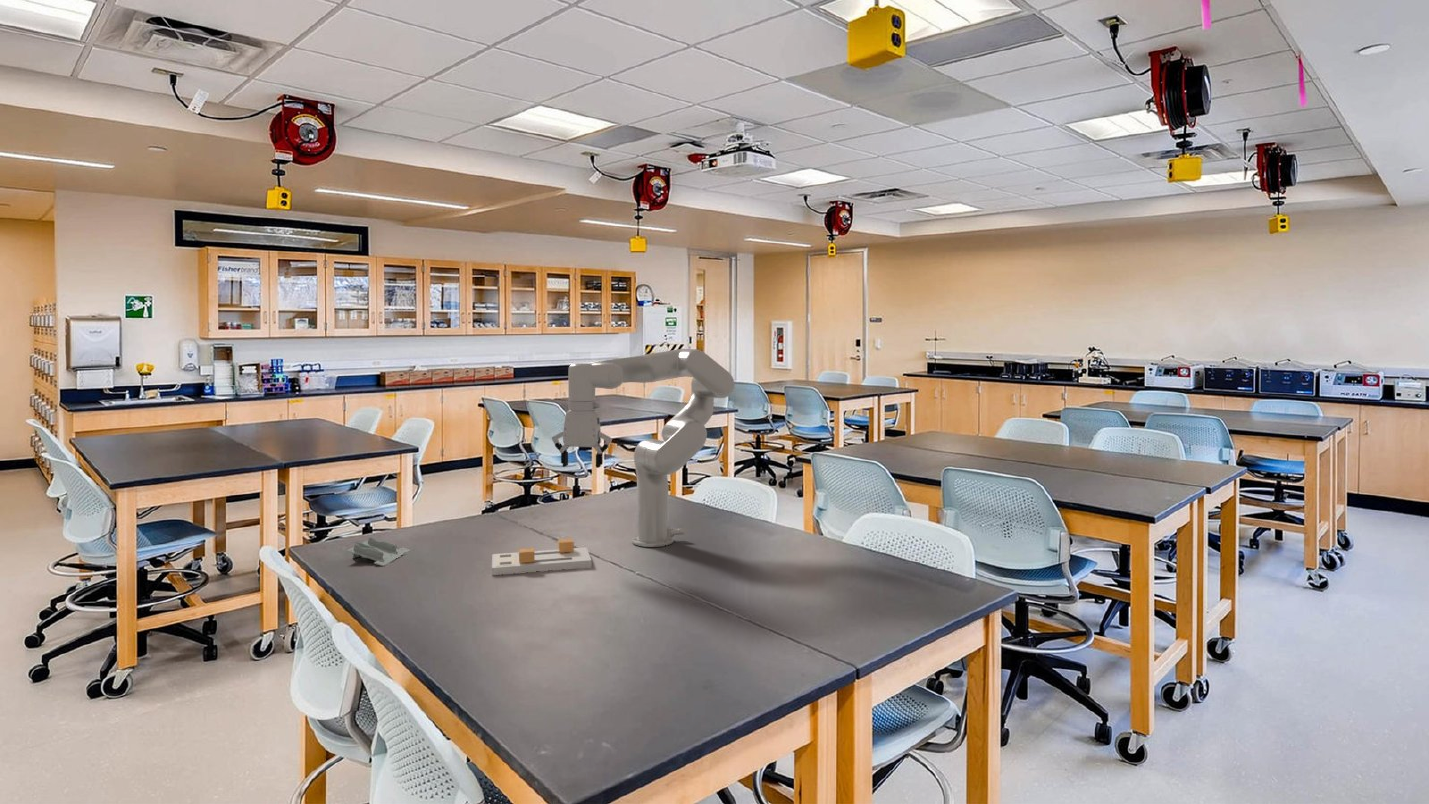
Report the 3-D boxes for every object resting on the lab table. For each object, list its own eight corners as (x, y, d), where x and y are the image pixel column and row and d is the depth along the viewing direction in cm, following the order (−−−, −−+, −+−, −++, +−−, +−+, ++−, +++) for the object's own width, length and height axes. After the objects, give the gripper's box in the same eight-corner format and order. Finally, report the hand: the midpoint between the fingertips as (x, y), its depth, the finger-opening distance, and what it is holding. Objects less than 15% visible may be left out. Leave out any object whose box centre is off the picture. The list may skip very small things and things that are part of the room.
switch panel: (586, 554, 220) (586, 546, 220) (591, 567, 207) (591, 559, 207) (492, 561, 213) (492, 553, 213) (492, 575, 201) (491, 567, 200)
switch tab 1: (534, 558, 208) (533, 548, 208) (534, 561, 204) (534, 551, 204) (518, 559, 207) (518, 549, 207) (519, 563, 203) (519, 552, 203)
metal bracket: (341, 545, 209) (371, 531, 224) (336, 565, 210) (366, 549, 225) (389, 561, 208) (416, 546, 223) (384, 581, 209) (411, 564, 224)
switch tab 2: (572, 548, 217) (572, 538, 217) (573, 551, 214) (573, 541, 214) (558, 549, 216) (558, 539, 216) (559, 552, 213) (559, 542, 213)
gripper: (614, 406, 219) (614, 465, 221) (556, 405, 221) (556, 463, 222) (608, 408, 212) (608, 469, 213) (548, 407, 214) (548, 467, 215)
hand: (581, 466), depth 218 cm, fingers open, 9 cm apart
